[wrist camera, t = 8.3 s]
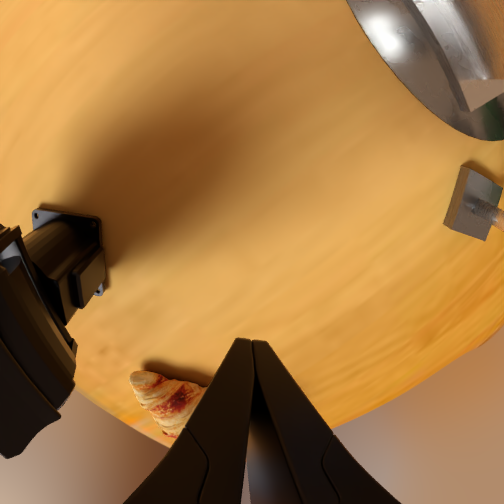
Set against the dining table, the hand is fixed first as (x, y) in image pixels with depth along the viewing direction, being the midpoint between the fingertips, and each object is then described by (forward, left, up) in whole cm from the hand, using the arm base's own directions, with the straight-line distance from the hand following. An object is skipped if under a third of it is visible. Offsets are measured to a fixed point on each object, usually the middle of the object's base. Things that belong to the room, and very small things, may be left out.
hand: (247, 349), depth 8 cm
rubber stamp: (+18, +5, -12) cm, 22 cm away
